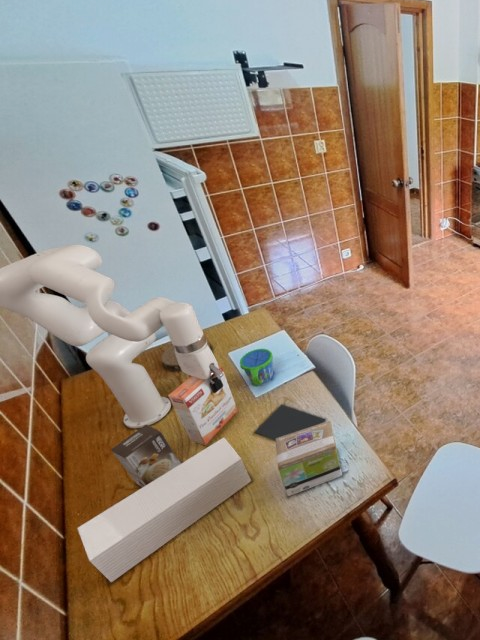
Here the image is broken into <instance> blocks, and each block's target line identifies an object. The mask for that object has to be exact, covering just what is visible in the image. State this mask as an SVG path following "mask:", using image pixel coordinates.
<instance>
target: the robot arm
mask: <svg viewBox="0 0 480 640" xmlns="http://www.w3.org/2000/svg"><path fill="white" fill-rule="evenodd" d="M102 265H103V259H102V256H101V255H100V254H99V252H97V250H95V249H93V248H91V247H89V246H86V245H84V244H77V243H75V244H67V245H63V246H58V247H53V248H48V249H45V250H41V251H39V252H36V253H34V254H31V255H29V256H27V257H24V258H22V259H19V260H17V261H14V262H12V263H9V264H7V265H5V266H3V267H0V307H1V308H2V309H5V310H8V311H10V312H13V313H15V314H18V315H20V316H22V317H25V318H27V319H29V320H31V321H32V322H34V323H35V324H37V325H38V326H40V328H43V330H46V331H48V332H49V333H50V334H52V335H54V336H55V337H57V338H58V339H59V340H61V341H62V342H64V343H66V344H67V345H71V346H73V347H83V346H86V345H88V344H89V343H92V342H93V341H94V340H96V339H97V338H99V337H100V336H102V335H104V334H106V333H108V335H107V336H106V337H104V338H103V339H101V340H100V341H99V342H97V343H96V344H94V345H93V346H92V347H91V348H90V349H89V351H88V352H87V353H86V355H85V361H86V363H87V364H88V366H89V367H90V368H91V369H92V370H94V371H95V372H96V373H97V374H98V376H100V377H101V379H102V380H103V381H104V382H105V384H106V385H107V387H108V388H109V390H110V391H111V392H112V394H113V396H114V397H115V399H116V400H117V402H118V403H119V405H120V406H121V408H122V409H123V411H124V413H125V414H124V416H123V424H124V425H125V426H126V427H127V428H129V429H140V428H142V427H143V426H144V425H148V426H151V425H153V424H156V423H158V422H159V421H160V420H162V419H163V418H164V417H165V416H166V415H167V414H168V413H169V412H170V410H171V407H172V402H171V400H170V398H169V397H165V396H161V395H160V393H159V391H158V388H157V387H156V386H155V384H154V382H153V380H152V378H151V376H150V374H149V373H148V371H147V369H146V368H145V366H143V365H142V364H140V363H135V362H133V361H134V360H135V359H136V358H137V357H138V356H139V355H140V354H141V353H143V352H144V351H145V350H147V349H148V348H149V347H150V346H152V345H153V344H154V343H155V341H156V338H157V335H156V332H157V331H159V330H160V329H161V328H163V327H164V329H165V331H166V334H167V336H168V338H169V340H170V342H171V345H173V346H174V348H175V354H176V358H177V360H178V363H179V366H180V368H181V370H180V371H181V372H182V373H183V374H186V375H188V376H189V377H191V376H194V377H197V378H200V379H208V380H209V381H210V387H211V389H212V391H213V393H216V392H217V391H219V390H220V389H221V388H222V387H223V384H222V381H221V379H220V378H221V377H222V376H223V375H224V374H225V373H224V374H223V373H222V372H221V371H220V370H219V366H220V365H219V363H218V361H217V359H216V357H215V354H214V353H213V351H211V350H212V349H211V350H210V348H209V346H208V345H207V341H208V340H207V338H206V335H205V334H204V331H203V329H202V326H201V324H200V321H199V319H198V316H197V314H196V312H195V309H194V307H193V305H192V304H190V303H188V302H182V301H181V302H177V301H174V300H172V299H169V298H166V297H162V296H157V297H153V298H151V299H149V300H148V301H146V302H145V303H143V304H141V305H140V306H138V307H137V308H135V309H134V310H132V311H130V310H128V309H127V308H126V307H124V306H123V305H122V304H120V303H118V302H116V301H114V300H113V299H112V300H111V297H112V296H113V293H114V292H115V290H116V289H115V288H116V282H115V281H114V279H112V278H111V277H109V276H107V275H105V274H102V273H100V272H98V271H96V270H98V269H100V267H101V266H102ZM42 288H48V289H50V290H52V291H54V292H57V293H59V294H61V295H64V296H65V297H68V298H71V299H73V300H75V301H78V302H79V303H83V304H84V305H82V306H81V307H79V306H76V305H74V304H73V303H71V302H70V301H69V300H67V299H66V298H64V297H62V296H59V295H55V294H50V293H44V292H43V293H42V292H36V291H38V290H40V289H42ZM211 371H212V372H211ZM213 374H214V375H215V376H216V377H215V378H214V379H212V378H211V376H212V375H213Z"/></svg>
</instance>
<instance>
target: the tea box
mask: <svg viewBox="0 0 480 640" xmlns="http://www.w3.org/2000/svg"><path fill="white" fill-rule="evenodd" d="M274 441H275V449H276V460H277V461H276V462H277V469H278V472H279V476H280V478H281V481H282V484H283V487H284V490H285V492H286V495H287V496H288V497H290V496H293V495H296V494H298V493H301V492H303V491H306V490H309V489H311V488H313V487H316V486H319V485H322V484H324V483H327V482H330V481H332V480H334V479H337V478H340V477H342V475H343V474H342V468H341V462H340V458H339V453H338V449H337V444H336V439H335V435H334V430H333V427H332V423H331V420H327V421H324V422H323V423H321V424H318V425H315V426H312V427H309V428H306V429H303V430H300V431H297V432H294V433H291V434H288V435H285V436H281V437H278V438H276V439H275V440H274Z"/></svg>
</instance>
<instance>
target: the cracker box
mask: <svg viewBox="0 0 480 640" xmlns="http://www.w3.org/2000/svg"><path fill="white" fill-rule="evenodd" d="M218 366H219V370H220V371H221V372H222V373H223V374H224V375H223V376H222V377H221V378H220V379H221V381H222V384H223V387H222V388H221V389H220V390H219V391H217V392H216V393H213V391H212V389H211V387H210V381H209V380H208V379H200V378H197V377H194V376H191V377H190V376H189V377H187V379H186V380H184V382H182V383H181V384H180V385H178V387H177V388H175V389H174V390H173V391H172V392H170V393H169V394H168V399H169V400H170V402H171V405H172V407H173V408H174V410H175V413H176V415H177V417H178V419H179V421H180V423H181V425H182V427H183V429H184V431H185V433H186V435H187V437H188V439H189V441H190V442H191V443H195V444H200V445H203V446H206V445H207V444H208V443H209V442H210V441H211V440H212V439H213V438H214V437H215V436H216V435H217V434H218V433H219V432H220V430H221V429H222V428H223V427H224V426H225V425H226V424H227V423H228V422H229V421H230V420H231V419H232V417H234V415H236V413H237V412H238V411H239V410H238V407H237V405H236V402H235V399H234V396H233V393H232V391H231V388H230V386H229V383H228V380H227V377H226V375H225V371H224V369H223V367H222V366H221V365H218ZM211 372H212V371H211ZM215 377H216V376H215V375H214V374H213V375H212V376H211V378H212V379H214V378H215Z"/></svg>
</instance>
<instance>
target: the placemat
mask: <svg viewBox="0 0 480 640" xmlns="http://www.w3.org/2000/svg"><path fill="white" fill-rule="evenodd" d="M324 422H326V419H325V418H322V417H319V416H317V415H314V414H312V413H308V412H306V411H303V410H302V411H301V410H298V409H296V408H293V407H290V406H287V405H285V404H280V406H278V407H277V409H276V410H274V412H273V413H271V415H269V417H268V418H267V419H266V420H265V421H264V422H263V423H262V424H261V425H260V426H259V427H258V428H257V429H256V430H255V431H254V433H255V434H258V435H261V436H263V437H266V438H269V439H271V440H274V441H276V440H275V439H276V438H278V437H281V436H285V435H288V434H291V433H294V432H297V431H300V430H303V429H306V428H309V427H312V426H315V425H318V424H321V423H324Z"/></svg>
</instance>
